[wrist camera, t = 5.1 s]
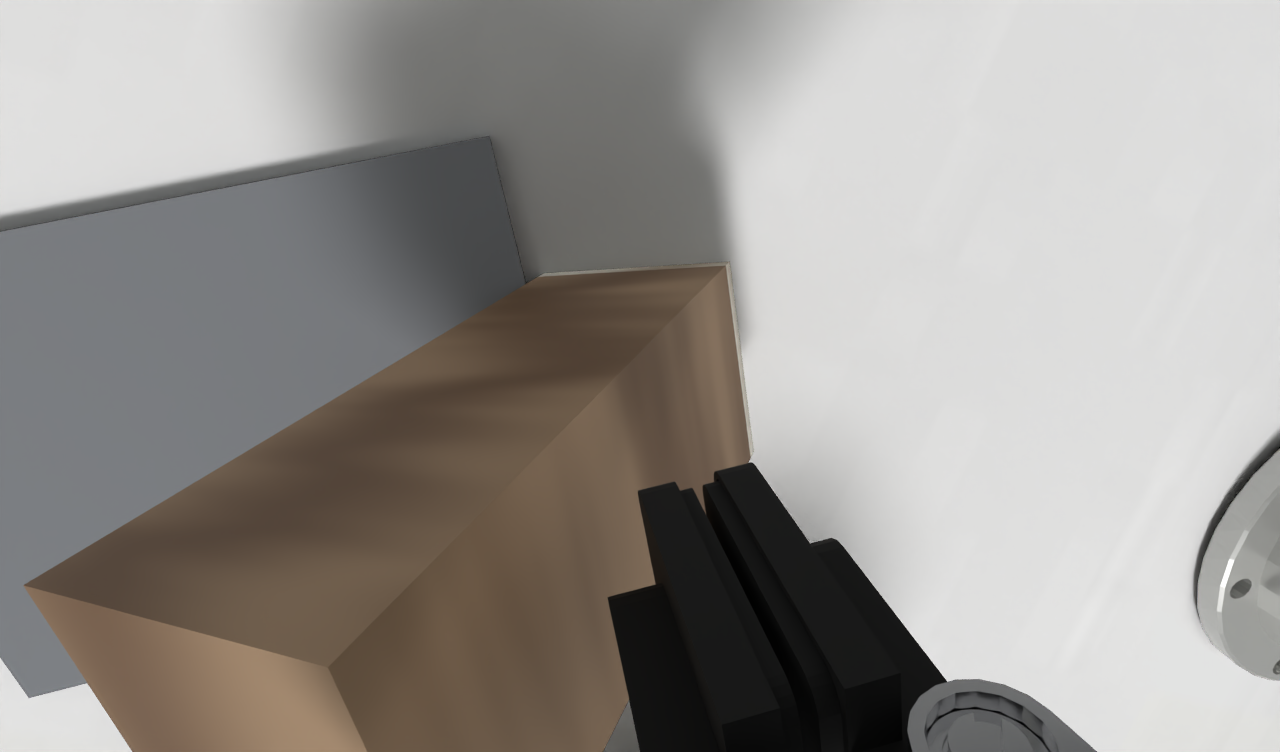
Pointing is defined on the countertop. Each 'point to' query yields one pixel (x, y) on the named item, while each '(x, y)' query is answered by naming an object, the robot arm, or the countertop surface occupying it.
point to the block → (423, 537)
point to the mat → (213, 340)
